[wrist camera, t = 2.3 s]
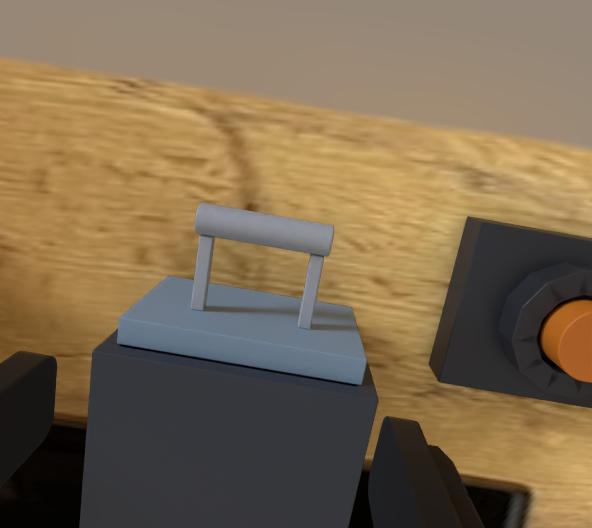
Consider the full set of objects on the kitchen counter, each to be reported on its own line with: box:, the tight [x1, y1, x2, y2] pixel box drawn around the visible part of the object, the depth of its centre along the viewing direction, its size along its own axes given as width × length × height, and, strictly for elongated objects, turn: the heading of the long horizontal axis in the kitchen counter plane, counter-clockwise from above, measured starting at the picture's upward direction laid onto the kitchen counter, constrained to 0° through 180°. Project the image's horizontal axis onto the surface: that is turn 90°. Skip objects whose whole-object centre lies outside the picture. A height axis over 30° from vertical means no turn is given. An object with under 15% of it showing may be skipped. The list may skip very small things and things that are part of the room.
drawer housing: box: [80, 329, 378, 528], centre depth 24 cm, size 14×12×9 cm
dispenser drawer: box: [117, 203, 367, 385], centre depth 23 cm, size 17×10×7 cm, turn 170°
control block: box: [429, 217, 592, 408], centre depth 24 cm, size 11×9×4 cm
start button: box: [540, 299, 592, 383], centre depth 22 cm, size 4×4×2 cm
